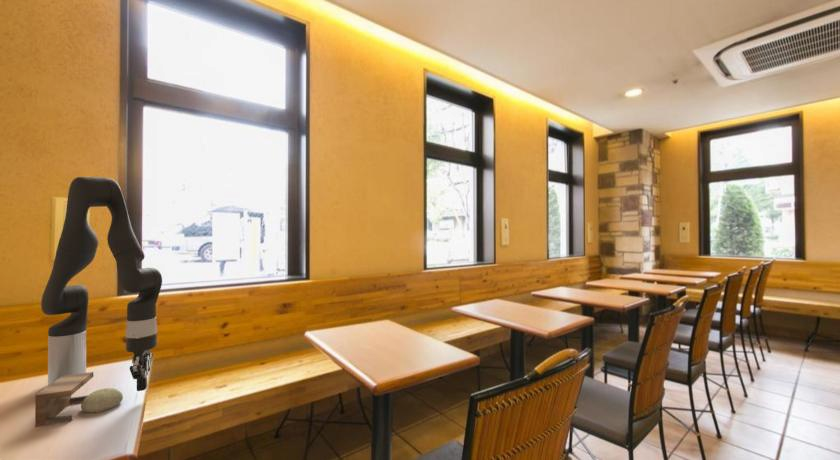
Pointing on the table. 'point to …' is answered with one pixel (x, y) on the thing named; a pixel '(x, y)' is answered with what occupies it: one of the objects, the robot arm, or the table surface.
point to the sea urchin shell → (101, 400)
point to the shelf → (58, 398)
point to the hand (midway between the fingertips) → (141, 389)
